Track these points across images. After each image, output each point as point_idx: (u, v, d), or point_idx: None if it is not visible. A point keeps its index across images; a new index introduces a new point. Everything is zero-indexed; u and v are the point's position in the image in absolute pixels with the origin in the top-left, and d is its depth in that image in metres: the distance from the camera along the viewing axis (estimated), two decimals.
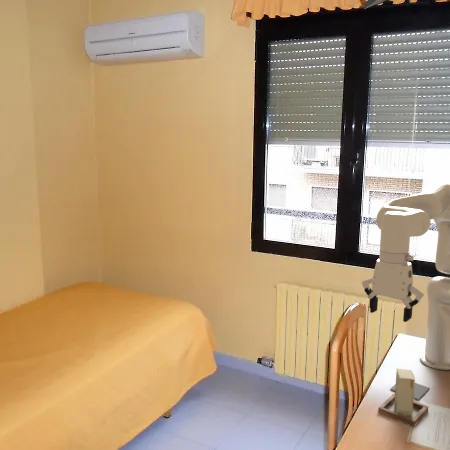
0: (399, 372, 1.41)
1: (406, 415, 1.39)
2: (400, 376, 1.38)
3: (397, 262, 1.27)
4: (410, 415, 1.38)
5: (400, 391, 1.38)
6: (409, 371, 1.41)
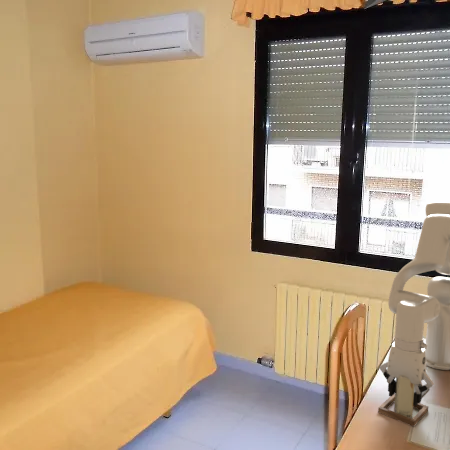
0: None
1: (406, 415, 1.39)
2: (400, 376, 1.38)
3: (412, 350, 1.34)
4: (410, 415, 1.38)
5: (400, 391, 1.38)
6: None
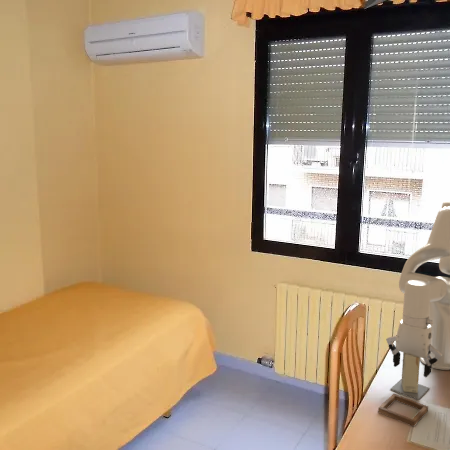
0: None
1: (412, 390, 1.51)
2: (406, 354, 1.50)
3: (419, 326, 1.46)
4: (415, 390, 1.51)
5: (406, 368, 1.50)
6: None
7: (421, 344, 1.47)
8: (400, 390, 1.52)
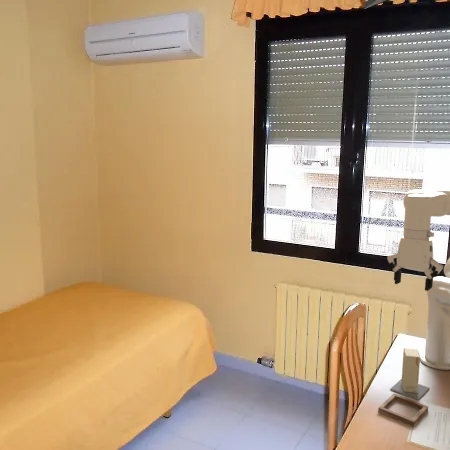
0: (406, 351, 1.53)
1: (412, 390, 1.51)
2: (406, 354, 1.50)
3: (420, 238, 1.45)
4: (415, 390, 1.51)
5: (406, 368, 1.50)
6: (415, 350, 1.53)
7: (422, 257, 1.46)
8: (400, 390, 1.52)
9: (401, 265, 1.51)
